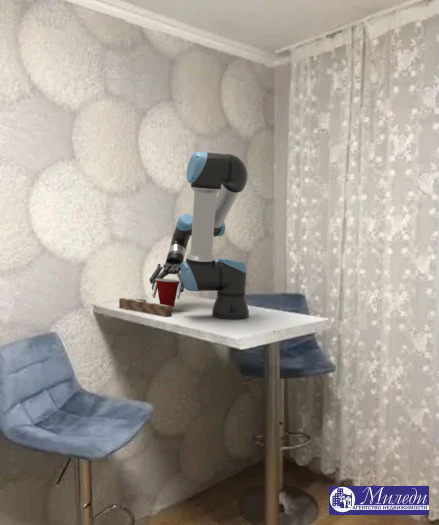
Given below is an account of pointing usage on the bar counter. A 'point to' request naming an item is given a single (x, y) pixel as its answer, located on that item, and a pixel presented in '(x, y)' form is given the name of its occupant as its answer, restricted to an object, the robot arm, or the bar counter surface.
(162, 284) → the plastic cup
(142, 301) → the rail
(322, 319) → the bar counter surface
